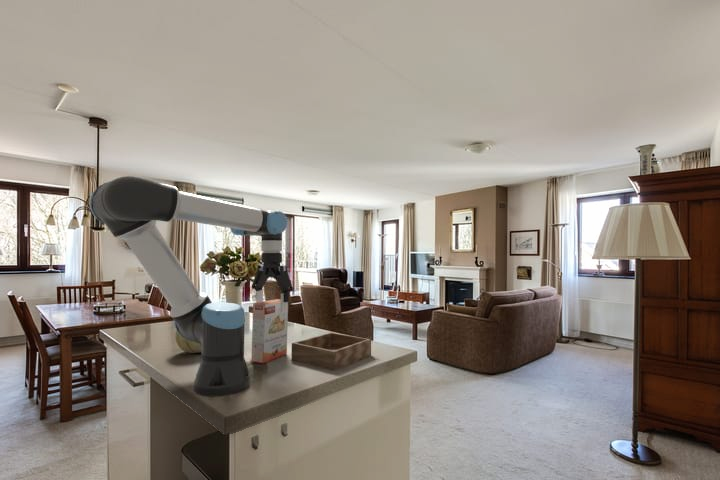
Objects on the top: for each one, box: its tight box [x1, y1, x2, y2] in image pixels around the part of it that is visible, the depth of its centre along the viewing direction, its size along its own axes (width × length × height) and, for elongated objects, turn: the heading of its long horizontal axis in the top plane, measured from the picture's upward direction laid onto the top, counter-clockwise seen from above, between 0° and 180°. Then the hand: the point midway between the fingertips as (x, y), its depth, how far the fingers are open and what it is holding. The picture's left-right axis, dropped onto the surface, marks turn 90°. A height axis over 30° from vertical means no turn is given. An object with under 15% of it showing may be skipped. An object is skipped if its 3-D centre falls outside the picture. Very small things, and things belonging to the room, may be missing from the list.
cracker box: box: [250, 298, 289, 364], centre depth 132 cm, size 14×6×21 cm, turn 156°
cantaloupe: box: [174, 330, 202, 354], centre depth 139 cm, size 15×15×15 cm
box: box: [291, 332, 372, 371], centre depth 133 cm, size 22×20×6 cm
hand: (271, 309), depth 133 cm, fingers open, 13 cm apart
